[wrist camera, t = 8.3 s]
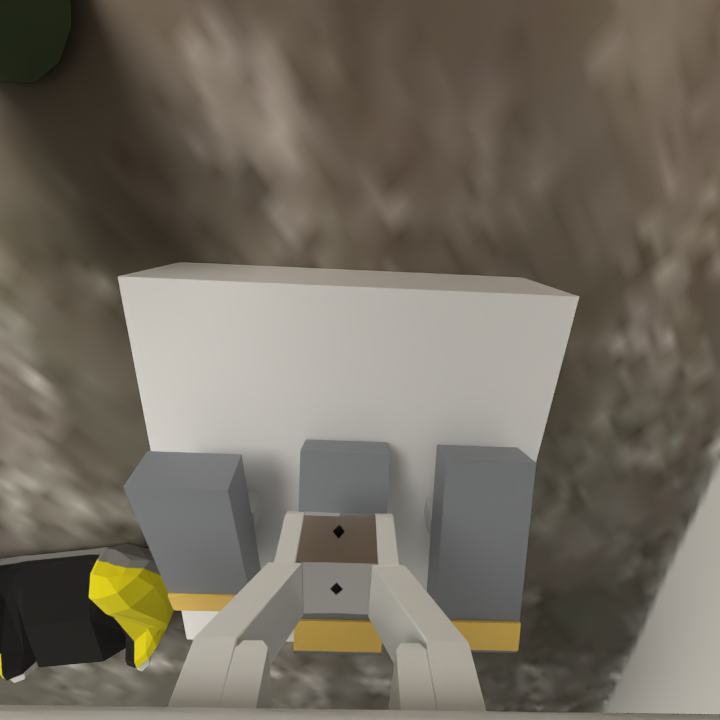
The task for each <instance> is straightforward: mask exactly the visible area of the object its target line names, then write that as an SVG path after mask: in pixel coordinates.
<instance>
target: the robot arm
mask: <svg viewBox="0 0 720 720" xmlns="http://www.w3.org/2000/svg"><path fill="white" fill-rule="evenodd" d="M303 613H347V614H367V615H368V617H369V619H370V621H371V622H372V624H373V626H374V628H375V630H376V632H377V634H378V635H379V637H380V639H381V641H382V643H383V645H384V647H385V648H386V650H387V652H388V654H389V656H390V658H391V659H392V661H393V663H394V670H393V677H392V685H391V692H390V700H389V707H388V710H353V709H273V703H272V691H271V679H270V667H269V666H270V665H271V663H272V662H273V660H274V659H275V657H276V656H277V654H278V653H279V651H280V650H281V648H282V647H283V645H284V644H285V642H286V641H287V639H288V638H289V636H290V635H291V633H292V632H293V630H294V629H295V627H296V626H297V624H298V623H299V621H300V620H301V618H302V617H303ZM0 720H720V714H648V713H647V714H645V713H573V712H496V711H486V708H485V704H484V700H483V696H482V692H481V689H480V685H479V681H478V677H477V673H476V669H475V665H474V662H473V658H472V654H471V650H470V646H469V643H468V641H467V640H466V639H465V638H464V637H463V635H462V634H461V633H460V632H459V630H458V629H457V628H456V627H455V626H454V624H453V623H452V622H451V621H450V619H449V618H448V617H447V616H446V615H445V613H444V612H443V611H442V610H441V609H440V607H439V606H438V605H437V604H436V602H435V601H434V600H433V599H432V598H431V596H430V595H429V594H428V593H427V591H426V590H425V589H424V588H423V587H422V585H421V584H420V583H419V582H418V580H417V579H416V578H415V577H414V576H413V574H412V573H411V572H410V571H409V569H408V568H407V567H406V566H405V565H400V563H399V555H398V547H397V539H396V531H395V523H394V516H393V515H392V514H376V513H375V514H374V513H325V512H306V511H305V512H299V511H287V513H286V515H285V518H284V522H283V526H282V530H281V535H280V539H279V543H278V547H277V552H276V556H275V560H274V562H268V563H267V564H266V565H265V566H264V567H263V568H262V569H261V570H260V571H259V572H258V573H257V574H256V575H255V576H254V577H253V578H252V579H251V580H250V581H249V582H248V583H247V584H246V586H245V587H244V588H243V589H242V590H241V591H240V592H239V593H238V594H237V595H236V596H235V597H234V598H233V599H232V600H231V601H230V602H229V603H228V604H227V605H226V606H225V607H224V608H223V609H222V610H221V611H220V612H219V613H218V614H217V615H216V616H215V617H214V618H213V619H212V620H211V621H210V622H209V623H208V624H207V625H206V626H205V627H204V628H203V629H202V630H201V631H200V632H199V633H198V634H197V635H196V636H195V637H194V640H193V643H192V645H191V648H190V650H189V653H188V656H187V658H186V661H185V663H184V666H183V668H182V671H181V674H180V676H179V679H178V681H177V684H176V687H175V689H174V692H173V694H172V697H171V700H170V702H169V705H168V707H118V706H42V705H0Z"/></svg>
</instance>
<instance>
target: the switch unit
mask: <svg viewBox="0 0 720 720" xmlns="http://www.w3.org/2000/svg"><path fill="white" fill-rule="evenodd" d="M118 281H119V286H120V292H121V297H122V302H123V307H124V313H125V318H126V323H127V328H128V334H129V339H130V344H131V349H132V355H133V360H134V365H135V370H136V375H137V381H138V386H139V391H140V396H141V402H142V407H143V412H144V417H145V423H146V428H147V433H148V438H149V444H150V449H151V451H159V452H188V453H218V454H241V455H242V461H243V466H244V472H245V478H246V484H247V490H248V496H249V502H250V508H251V514H252V520H253V526H254V531H255V537H256V543H257V549H258V555H259V561H260V567H261V569H262V568H263V567H264V566H265V565H266V564H267V563H268V562H274V560H275V556H276V552H277V547H278V543H279V539H280V535H281V530H282V526H283V522H284V518H285V515H286V513H287V511H298V506H299V476H300V450H301V448H302V446H303V444H304V442H305V440H306V439H309V440H338V441H367V442H386V444H387V447H388V450H389V453H390V462H389V484H388V507H387V514H392V515H393V516H394V523H395V531H396V539H397V547H398V555H399V563H400V565H405V566H406V567H407V568H408V569H409V571H410V572H411V573H412V574H413V576H414V577H415V578H416V579H417V580H418V582H419V583H420V584H421V585H422V587H423V588H424V589H425V590H426V591H427V579H428V564H429V550H430V535H431V521H432V507H433V492H434V478H435V463H436V449H437V445H461V446H490V447H517V448H519V449H520V450H521V451H522V452H524V453H525V454H526V455H527V456H529V457H530V458H531V459H532V460H534V461H535V462H536V460H537V457H538V453H539V449H540V445H541V441H542V437H543V434H544V430H545V426H546V422H547V418H548V415H549V411H550V407H551V403H552V399H553V395H554V392H555V388H556V384H557V380H558V376H559V372H560V369H561V365H562V361H563V357H564V353H565V350H566V346H567V342H568V338H569V334H570V330H571V327H572V323H573V319H574V315H575V311H576V307H577V304H578V300H579V296H576V295H573V294H570V293H567V292H564V291H561V290H558V289H555V288H552V287H549V286H546V285H543V284H540V283H537V282H534V281H531V280H529V279H526V278H523V277H502V276H480V275H457V274H435V273H413V272H390V271H368V270H346V269H323V268H301V267H279V266H256V265H234V264H212V263H189V262H179V263H174V264H170V265H166V266H161V267H157V268H152V269H148V270H144V271H139V272H135V273H130V274H126V275H121V276H118ZM219 612H220V611H182V616H183V622H184V627H185V632H186V637H187V639H194V637H195V636H196V635H197V634H198V633H199V632H200V631H201V630H202V629H203V628H204V627H205V626H206V625H207V624H208V623H209V622H210V621H211V620H212V619H213V618H214V617H215V616H216V615H217V614H218V613H219ZM286 642H294V630H293V632H292V633H291V635H290V636H289V638H288V639H287V641H286ZM382 644H383V643H382Z"/></svg>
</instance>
